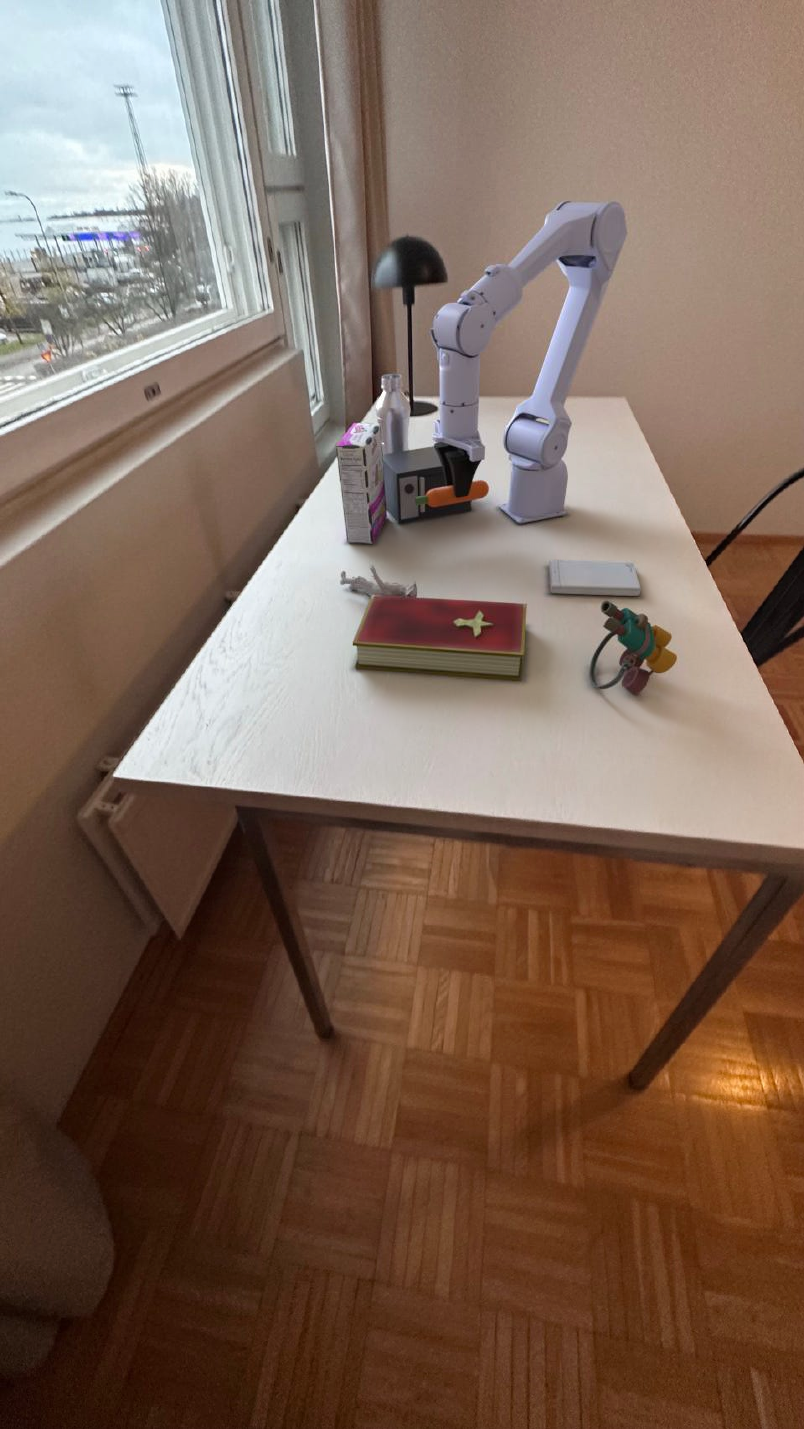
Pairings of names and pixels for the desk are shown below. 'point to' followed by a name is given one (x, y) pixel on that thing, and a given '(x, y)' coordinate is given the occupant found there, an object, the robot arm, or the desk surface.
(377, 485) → the candy bar box
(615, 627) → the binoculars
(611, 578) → the hard drive
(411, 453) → the mini oven
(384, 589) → the soldier figure
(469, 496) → the carrot
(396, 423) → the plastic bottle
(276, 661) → the desk surface
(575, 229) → the robot arm
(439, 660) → the hardcover book
